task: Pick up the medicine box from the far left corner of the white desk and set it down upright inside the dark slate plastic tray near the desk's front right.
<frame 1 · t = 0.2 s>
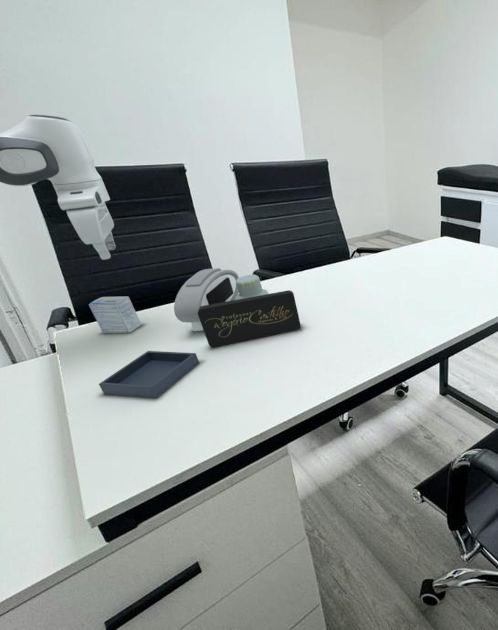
hand: (109, 253, 94), 20 cm above the table, tool pointing down, fingers open, 8 cm apart
medicine box: (122, 330, 102), on the table
air freshener: (256, 312, 107), on the table
nameplate: (257, 337, 94), on the table
tray: (154, 377, 81), on the table
alarm clock: (217, 316, 106), on the table
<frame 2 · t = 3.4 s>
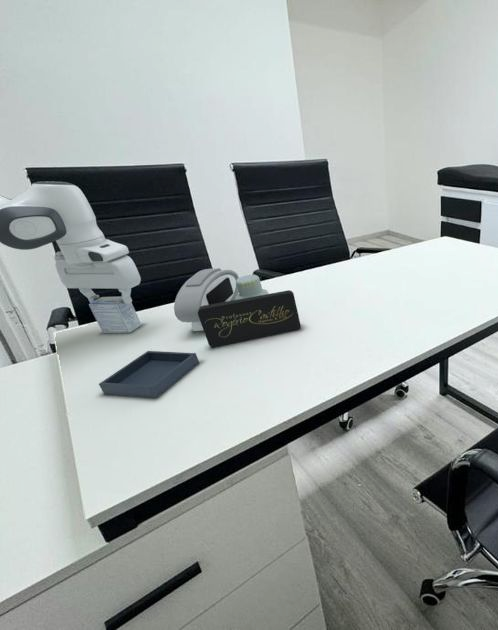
hand: (111, 302, 99), 8 cm above the table, tool pointing down, fingers open, 8 cm apart
medicine box: (123, 330, 102), on the table, touching gripper
everything else where it was.
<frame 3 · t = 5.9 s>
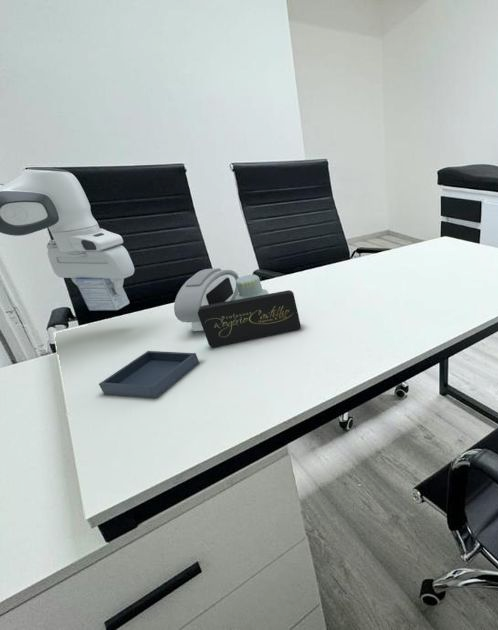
hand: (104, 293, 97), 10 cm above the table, tool pointing down, fingers closed on medicine box, 8 cm apart
medicine box: (110, 308, 99), point 6 cm above the table, touching gripper
everything else where it was.
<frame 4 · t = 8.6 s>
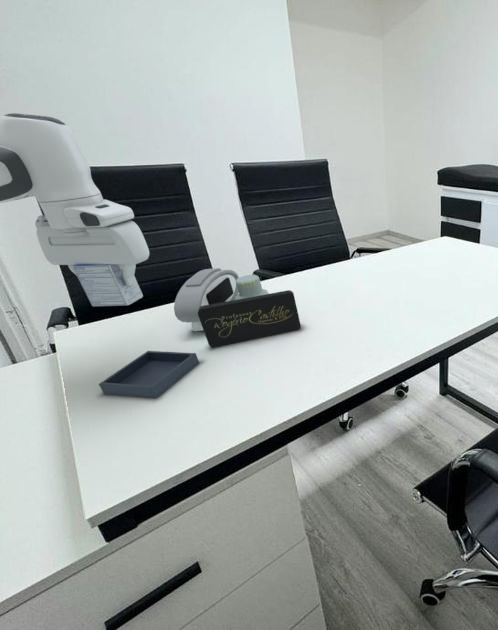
hand: (110, 284, 76), 19 cm above the table, tool pointing down, fingers closed on medicine box, 8 cm apart
medicine box: (119, 303, 78), point 15 cm above the table, touching gripper
everything else where it was.
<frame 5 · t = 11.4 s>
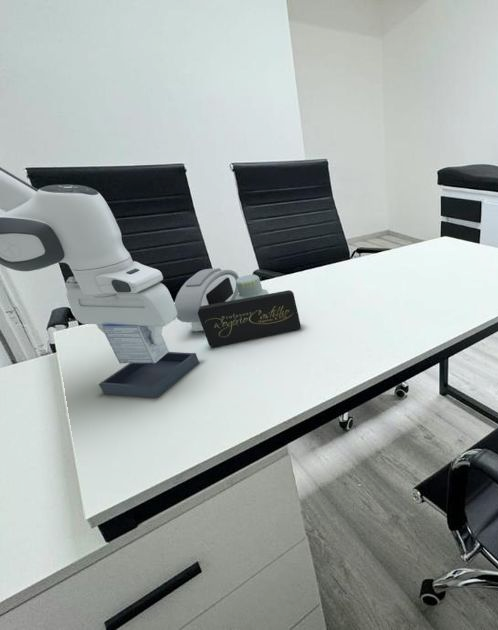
hand: (137, 342, 77), 9 cm above the table, tool pointing down, fingers closed on medicine box, 8 cm apart
medicine box: (145, 359, 78), point 5 cm above the table, touching gripper
everything else where it was.
when the fingers open (4 cm above the table, at t = 13.2 s): medicine box stays where it is, resting on tray.
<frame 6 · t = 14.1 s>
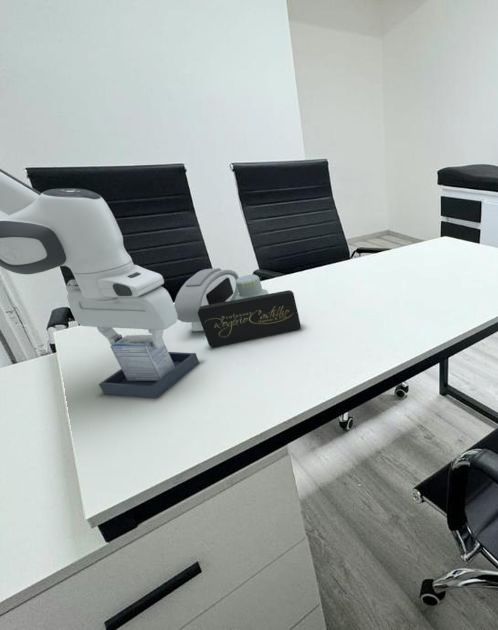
hand: (137, 345, 77), 8 cm above the table, tool pointing down, fingers open, 8 cm apart
medicine box: (152, 376, 80), resting on tray, touching gripper
everything else where it was.
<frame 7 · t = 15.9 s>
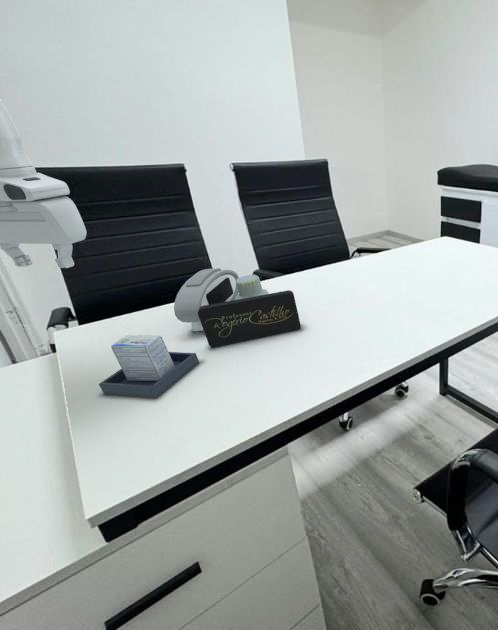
hand: (46, 266, 70), 25 cm above the table, tool pointing down, fingers open, 8 cm apart
medicine box: (152, 376, 80), resting on tray
everything else where it was.
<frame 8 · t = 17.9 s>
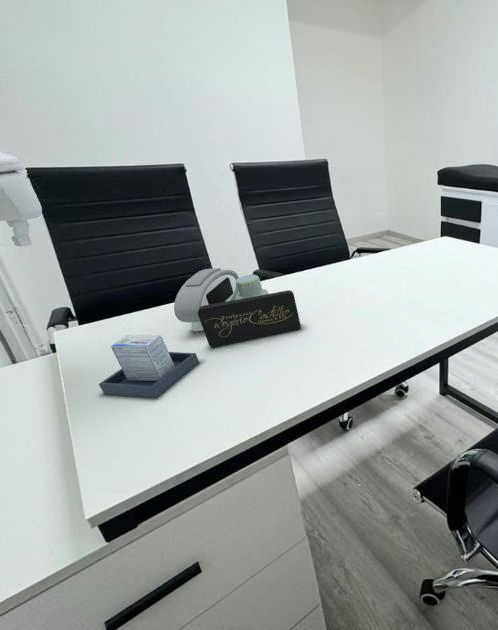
hand: (3, 245, 69), 29 cm above the table, tool pointing down, fingers open, 8 cm apart
nothing on the table moved.
at the end: medicine box inside the target area in the tray (0.1 cm from its centre), point 0.3 cm above the tray's base; medicine box tilted 0°; the gripper is holding nothing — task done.
